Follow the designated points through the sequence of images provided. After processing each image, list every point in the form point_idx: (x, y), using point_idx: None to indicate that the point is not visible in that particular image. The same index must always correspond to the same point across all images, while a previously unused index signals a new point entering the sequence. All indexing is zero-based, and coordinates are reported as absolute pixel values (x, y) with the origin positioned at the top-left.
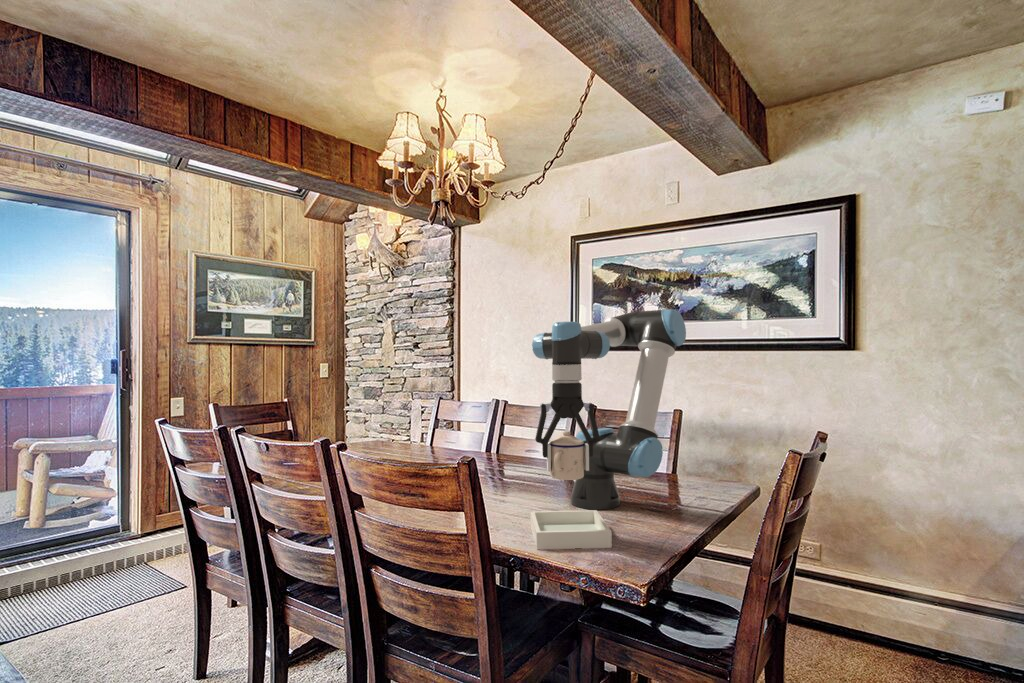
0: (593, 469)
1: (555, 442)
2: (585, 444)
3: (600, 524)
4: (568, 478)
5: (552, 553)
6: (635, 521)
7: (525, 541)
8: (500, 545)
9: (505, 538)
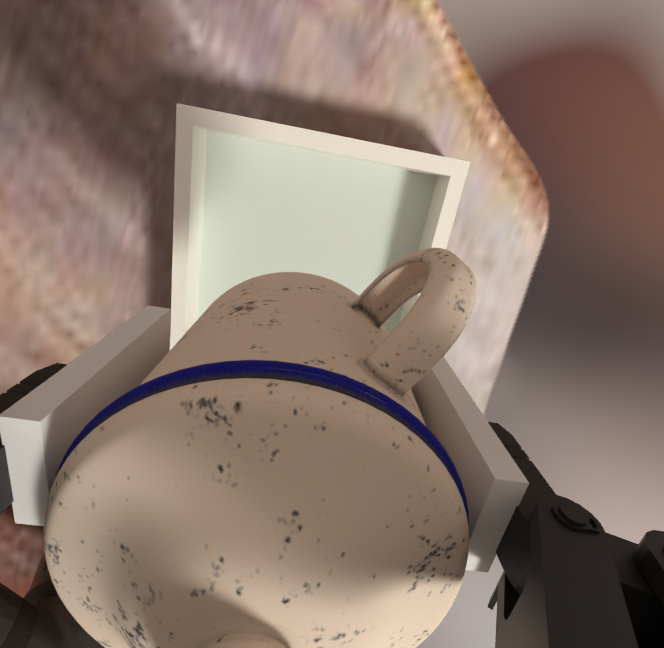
0: None
1: (447, 504)
2: (42, 455)
3: (192, 239)
4: (314, 275)
5: (413, 112)
6: (49, 356)
7: (455, 252)
8: (541, 234)
9: (502, 293)
